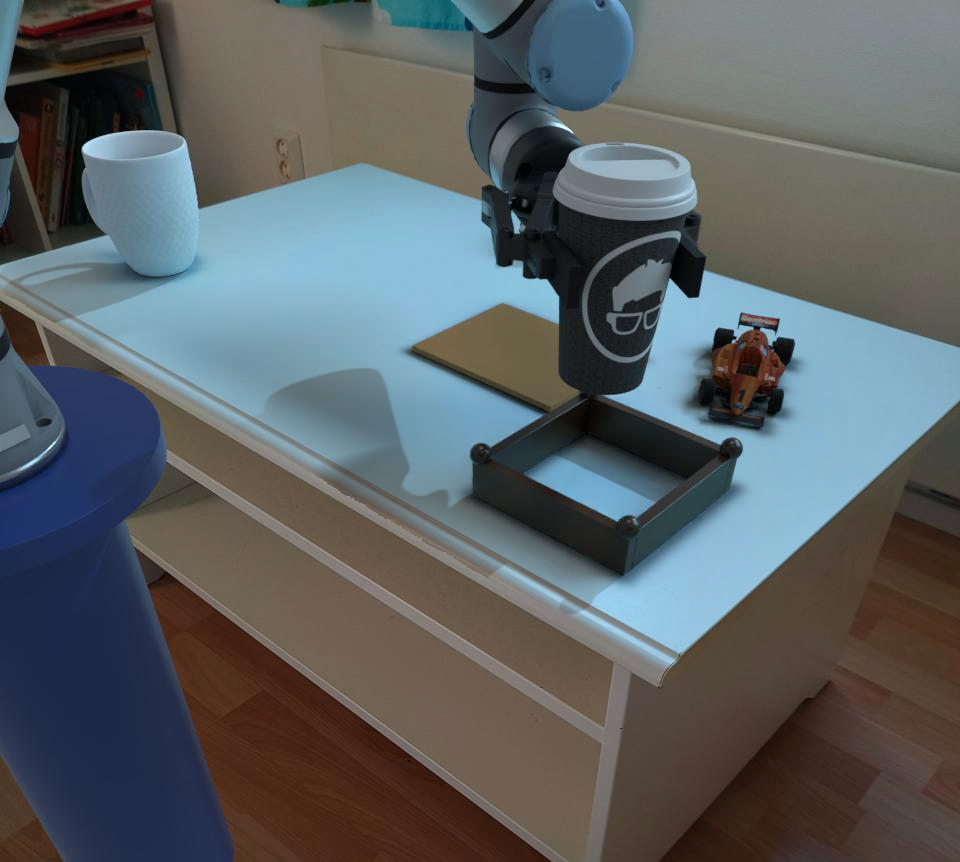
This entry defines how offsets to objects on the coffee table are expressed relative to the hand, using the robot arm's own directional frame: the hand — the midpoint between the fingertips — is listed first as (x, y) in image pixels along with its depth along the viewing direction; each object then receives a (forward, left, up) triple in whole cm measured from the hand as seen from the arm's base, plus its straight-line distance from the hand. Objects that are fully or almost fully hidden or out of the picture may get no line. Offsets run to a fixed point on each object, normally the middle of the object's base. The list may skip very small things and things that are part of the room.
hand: (636, 282), depth 58 cm
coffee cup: (-4, +3, -9) cm, 10 cm away
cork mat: (-21, +15, -18) cm, 32 cm away
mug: (-68, +3, -18) cm, 71 cm away
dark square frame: (-1, +1, -18) cm, 18 cm away
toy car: (-2, +25, -18) cm, 31 cm away
